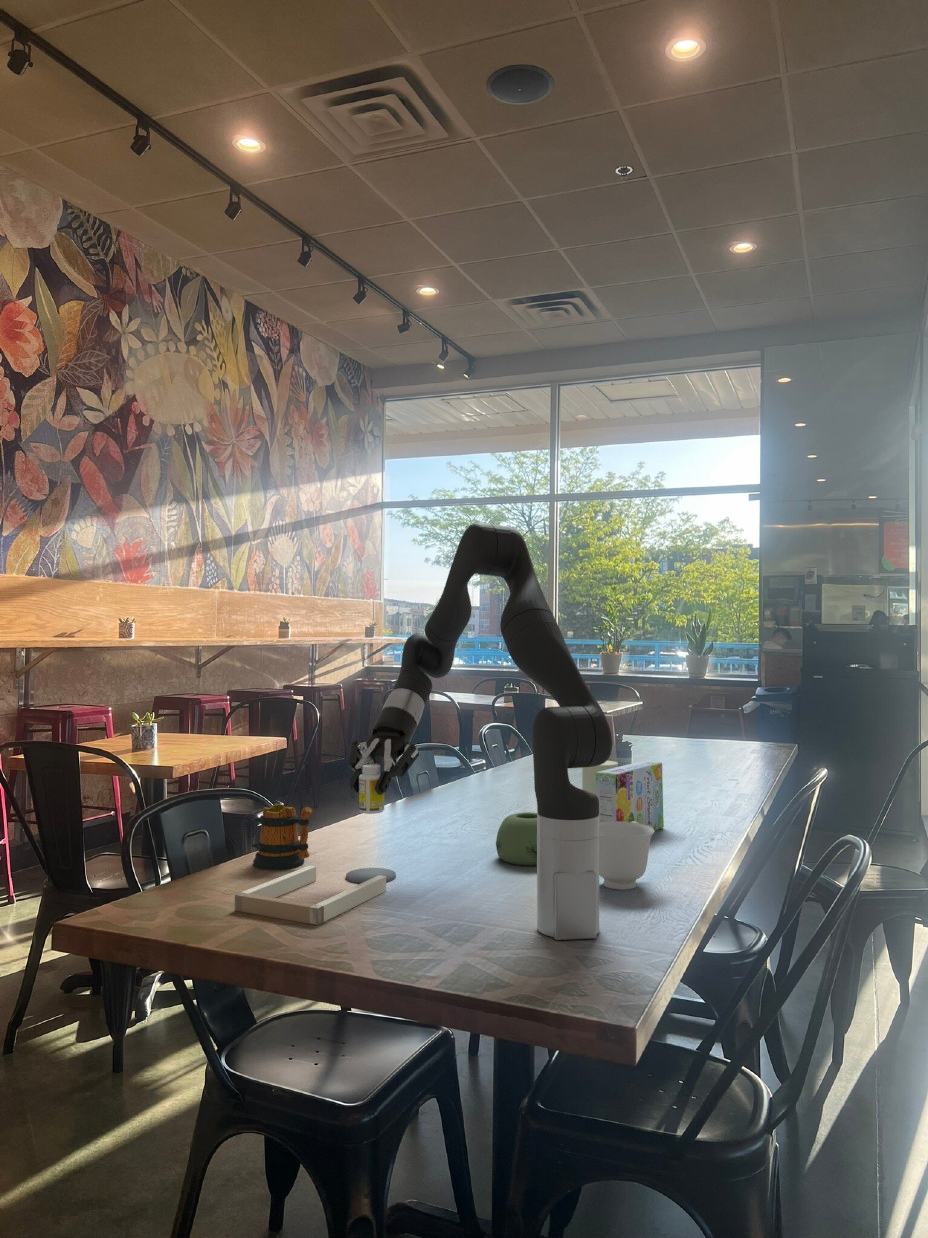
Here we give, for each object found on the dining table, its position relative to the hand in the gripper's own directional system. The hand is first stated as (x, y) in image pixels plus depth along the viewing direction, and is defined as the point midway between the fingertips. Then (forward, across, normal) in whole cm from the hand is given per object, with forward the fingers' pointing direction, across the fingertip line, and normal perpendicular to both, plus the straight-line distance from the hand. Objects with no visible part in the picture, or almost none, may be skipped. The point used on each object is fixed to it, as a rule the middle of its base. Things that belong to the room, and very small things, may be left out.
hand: (366, 790), depth 161 cm
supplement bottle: (+2, 0, +4) cm, 5 cm away
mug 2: (-8, +21, +31) cm, 39 cm away
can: (-47, +18, +70) cm, 86 cm away
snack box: (-28, +33, +52) cm, 67 cm away
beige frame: (+22, -1, +1) cm, 22 cm away
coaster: (+10, 0, +12) cm, 16 cm away
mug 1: (+10, -19, +13) cm, 25 cm away
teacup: (-1, +42, +24) cm, 49 cm away
